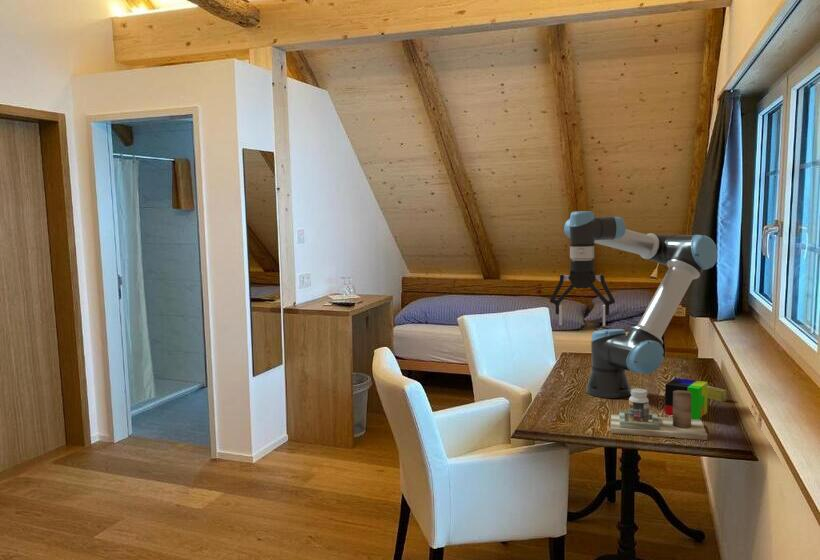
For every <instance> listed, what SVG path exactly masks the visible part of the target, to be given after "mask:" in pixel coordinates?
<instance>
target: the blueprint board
mask: <svg viewBox="0 0 820 560" xmlns="http://www.w3.org/2000/svg"><path fill="white" fill-rule="evenodd" d="M691 399H692V393H691V392H689V391H684V390H676V391H673V416H672V417H662V416H661V417H660V416H658V413H650V412H649V421H648V423H647V422H632V421H629V411H619V412H618V414H615V413H611V414H610V434H616V435H617V434H618V435H630V436H632V435H633V436H643V435H644V436H645V437H646V436H647V437H657V438H671V437H675V438H676V439H686V440H687V439H690V440H699V441H702V440H703V441H708V433H707V431H706V429H705V427H704V424H703V422H702V419H699V420H695V419H691ZM644 436H643V437H644ZM675 438H674V439H675Z"/></svg>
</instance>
